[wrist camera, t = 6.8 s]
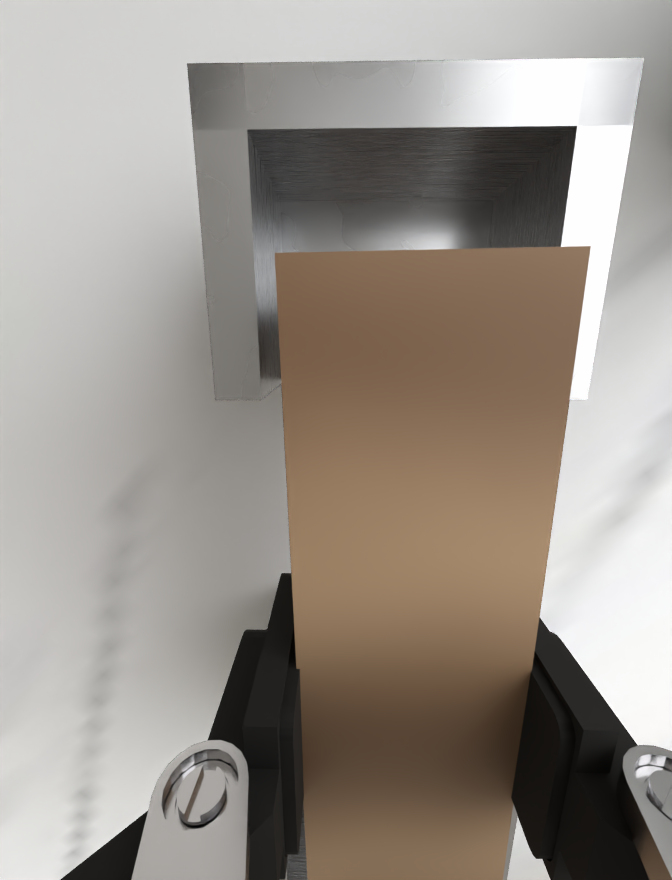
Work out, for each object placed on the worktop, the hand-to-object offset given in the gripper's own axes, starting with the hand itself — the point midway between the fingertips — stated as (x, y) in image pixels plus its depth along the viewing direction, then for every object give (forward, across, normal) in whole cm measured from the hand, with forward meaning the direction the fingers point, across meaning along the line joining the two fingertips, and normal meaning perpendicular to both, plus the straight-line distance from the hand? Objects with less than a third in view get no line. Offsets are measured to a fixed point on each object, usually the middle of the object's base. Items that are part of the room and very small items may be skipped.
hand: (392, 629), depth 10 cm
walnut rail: (+2, 0, 0) cm, 2 cm away
